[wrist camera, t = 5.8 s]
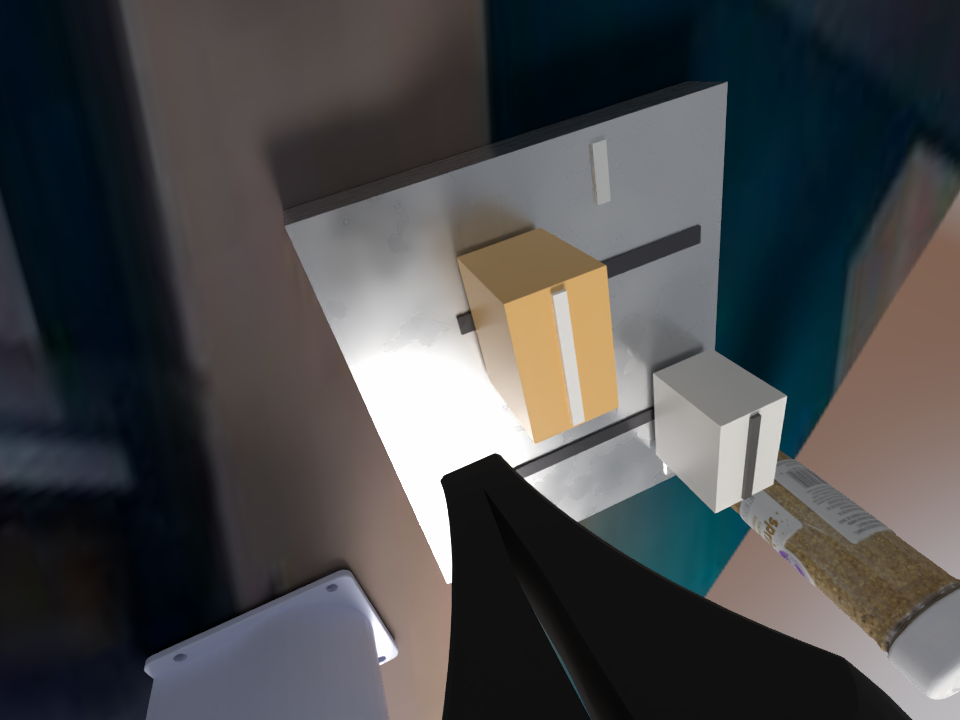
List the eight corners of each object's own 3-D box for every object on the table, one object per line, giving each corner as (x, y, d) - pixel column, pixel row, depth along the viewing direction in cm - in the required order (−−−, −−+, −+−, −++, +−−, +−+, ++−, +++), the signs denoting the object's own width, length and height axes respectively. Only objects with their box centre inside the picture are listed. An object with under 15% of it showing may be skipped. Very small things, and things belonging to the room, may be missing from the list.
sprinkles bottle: (680, 471, 30) (921, 705, 19) (732, 411, 29) (1018, 621, 18) (719, 489, 32) (952, 706, 21) (768, 435, 31) (1040, 633, 20)
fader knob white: (656, 454, 24) (717, 516, 21) (653, 373, 22) (723, 429, 18) (707, 430, 25) (776, 486, 21) (711, 348, 22) (790, 397, 19)
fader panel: (436, 551, 26) (448, 585, 24) (283, 210, 16) (284, 226, 14) (684, 436, 28) (711, 460, 26) (686, 81, 18) (730, 81, 17)
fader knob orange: (489, 379, 19) (536, 447, 15) (456, 257, 16) (505, 306, 13) (560, 350, 19) (621, 410, 16) (540, 227, 17) (609, 267, 13)
